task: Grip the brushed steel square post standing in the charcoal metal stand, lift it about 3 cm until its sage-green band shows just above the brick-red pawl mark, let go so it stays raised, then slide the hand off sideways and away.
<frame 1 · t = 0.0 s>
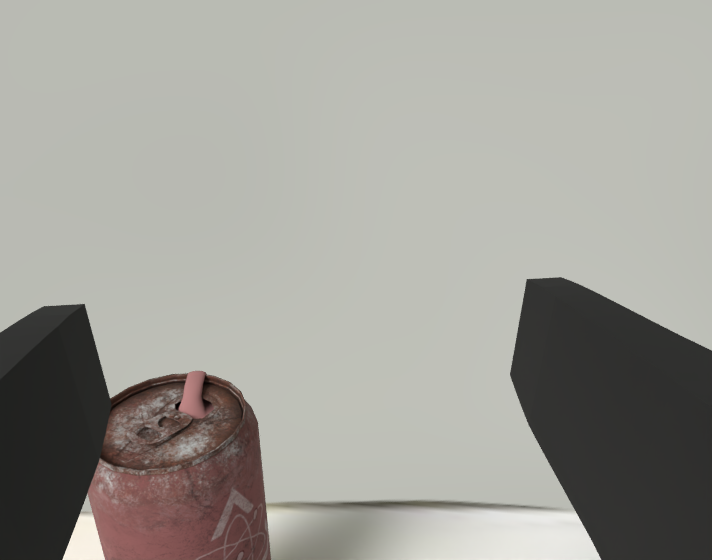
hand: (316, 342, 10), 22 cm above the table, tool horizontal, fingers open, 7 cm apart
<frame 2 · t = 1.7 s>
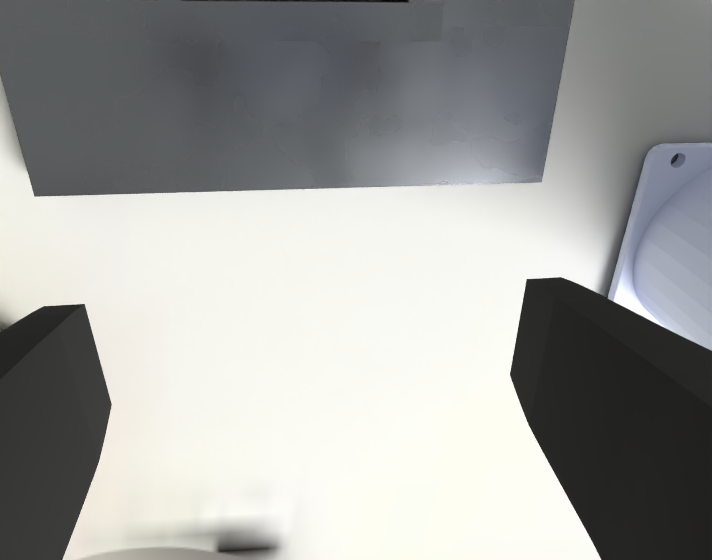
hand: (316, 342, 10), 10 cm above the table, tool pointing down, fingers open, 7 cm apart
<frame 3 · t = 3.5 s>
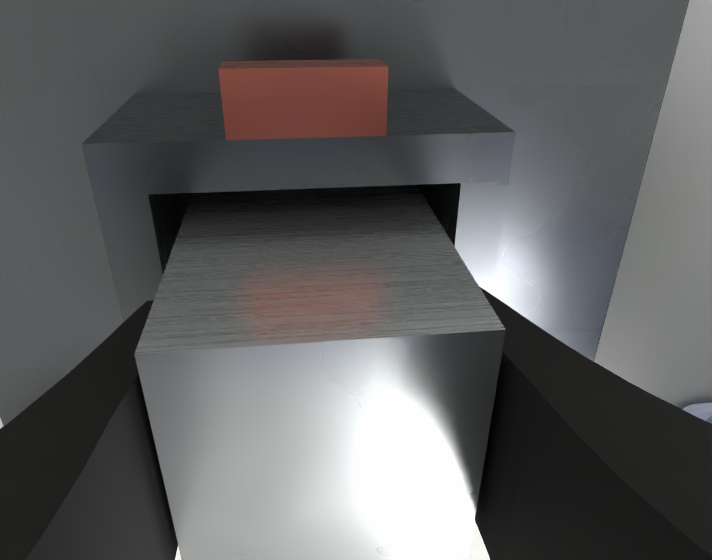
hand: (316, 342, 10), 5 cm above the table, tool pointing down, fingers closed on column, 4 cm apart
stand: (303, 219, 14), on the table
column: (312, 308, 10), point 4 cm above the table, slide at 0.0 cm, touching gripper
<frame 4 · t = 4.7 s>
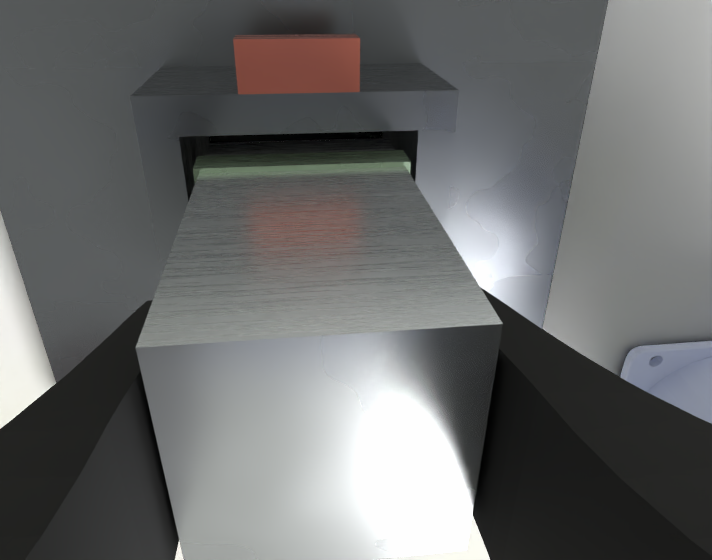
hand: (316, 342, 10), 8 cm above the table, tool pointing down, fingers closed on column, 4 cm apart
stand: (299, 175, 17), on the table
column: (312, 305, 10), point 7 cm above the table, slide at 3.1 cm, touching gripper
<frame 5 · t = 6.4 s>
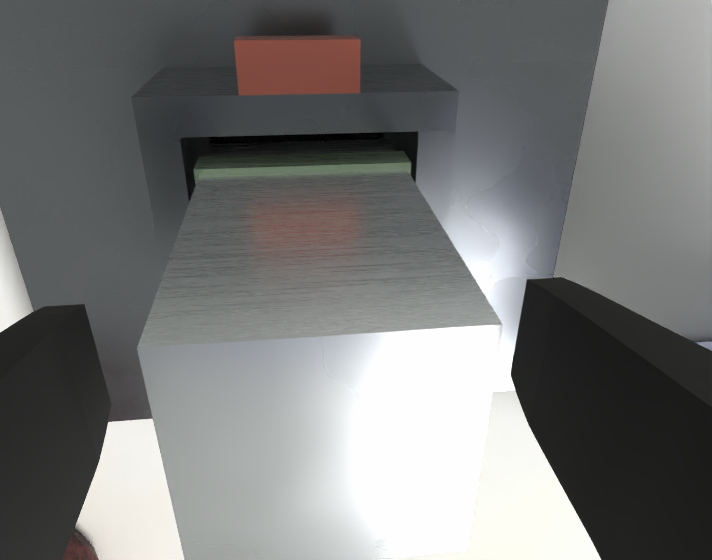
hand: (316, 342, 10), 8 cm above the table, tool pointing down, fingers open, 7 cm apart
stand: (299, 176, 17), on the table
can: (25, 556, 24), on the table
column: (312, 305, 11), point 7 cm above the table, slide at 3.1 cm
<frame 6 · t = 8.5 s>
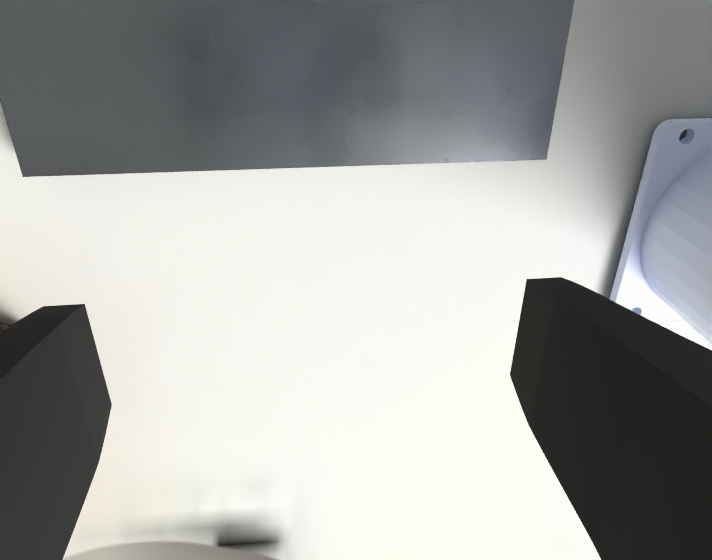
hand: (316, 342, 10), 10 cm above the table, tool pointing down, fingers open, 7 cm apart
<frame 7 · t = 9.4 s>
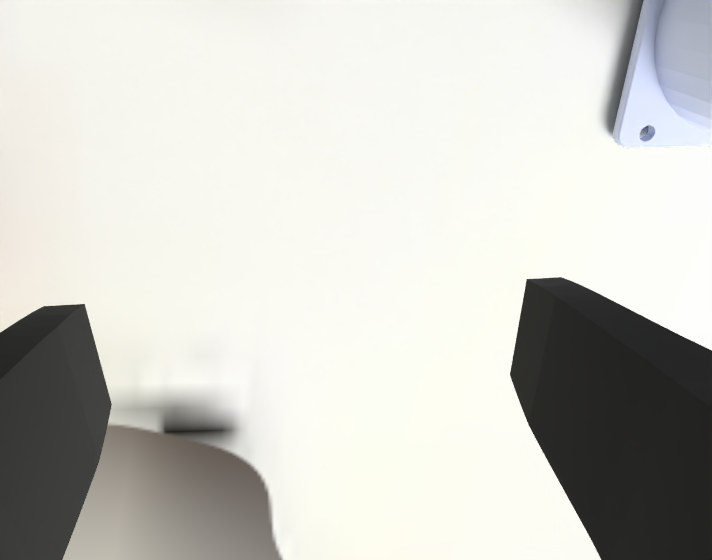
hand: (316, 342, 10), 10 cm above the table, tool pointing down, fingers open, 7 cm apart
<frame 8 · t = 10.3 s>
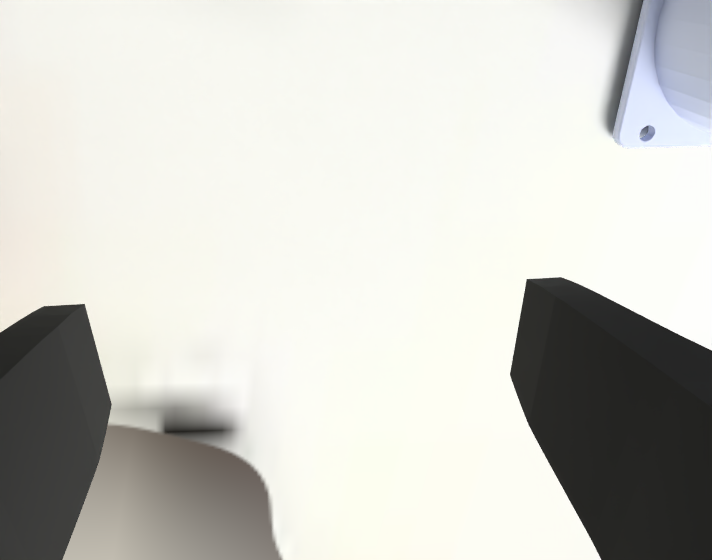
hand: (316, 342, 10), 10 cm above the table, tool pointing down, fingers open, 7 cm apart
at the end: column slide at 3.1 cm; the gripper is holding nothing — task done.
